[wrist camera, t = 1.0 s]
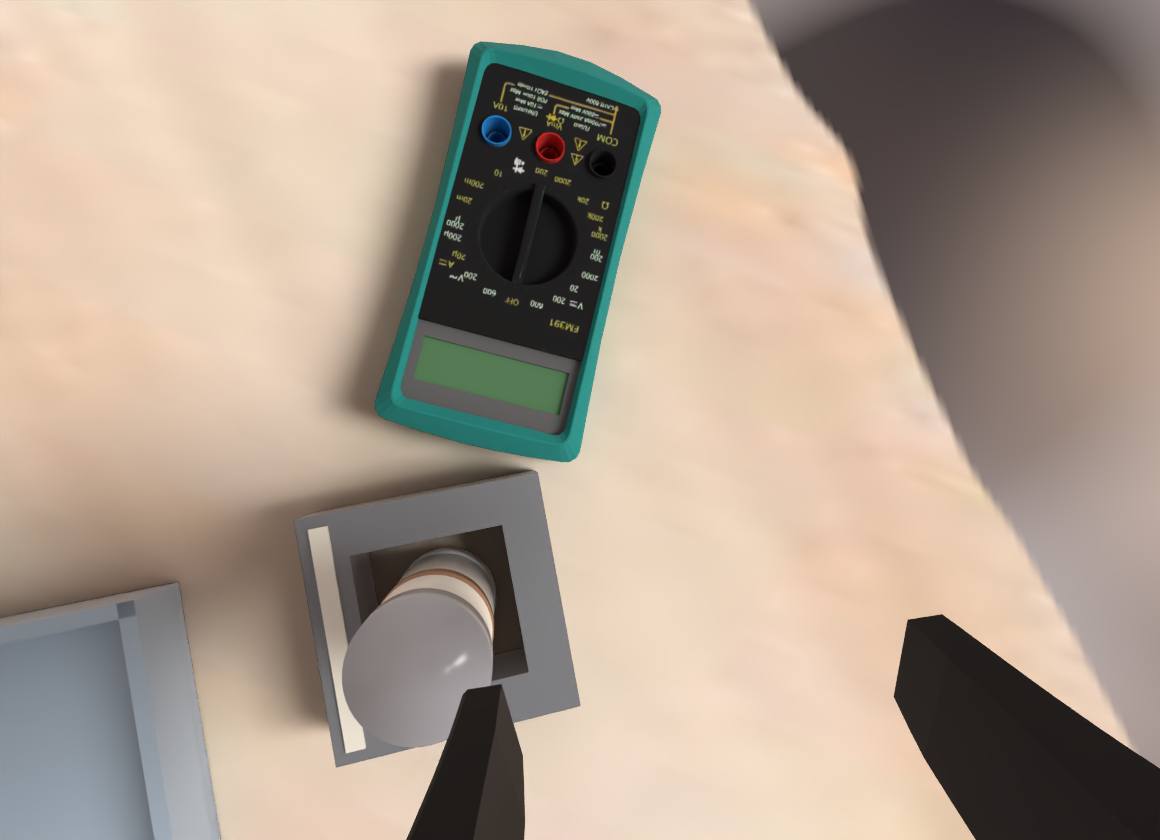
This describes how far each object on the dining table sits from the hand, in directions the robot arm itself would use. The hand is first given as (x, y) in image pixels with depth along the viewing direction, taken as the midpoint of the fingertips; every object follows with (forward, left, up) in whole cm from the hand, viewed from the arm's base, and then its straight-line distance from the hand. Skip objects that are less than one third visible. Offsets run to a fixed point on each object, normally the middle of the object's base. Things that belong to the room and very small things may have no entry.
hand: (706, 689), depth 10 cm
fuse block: (0, +6, -12) cm, 14 cm away
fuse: (0, +6, -12) cm, 14 cm away
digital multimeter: (+12, +1, -13) cm, 17 cm away
